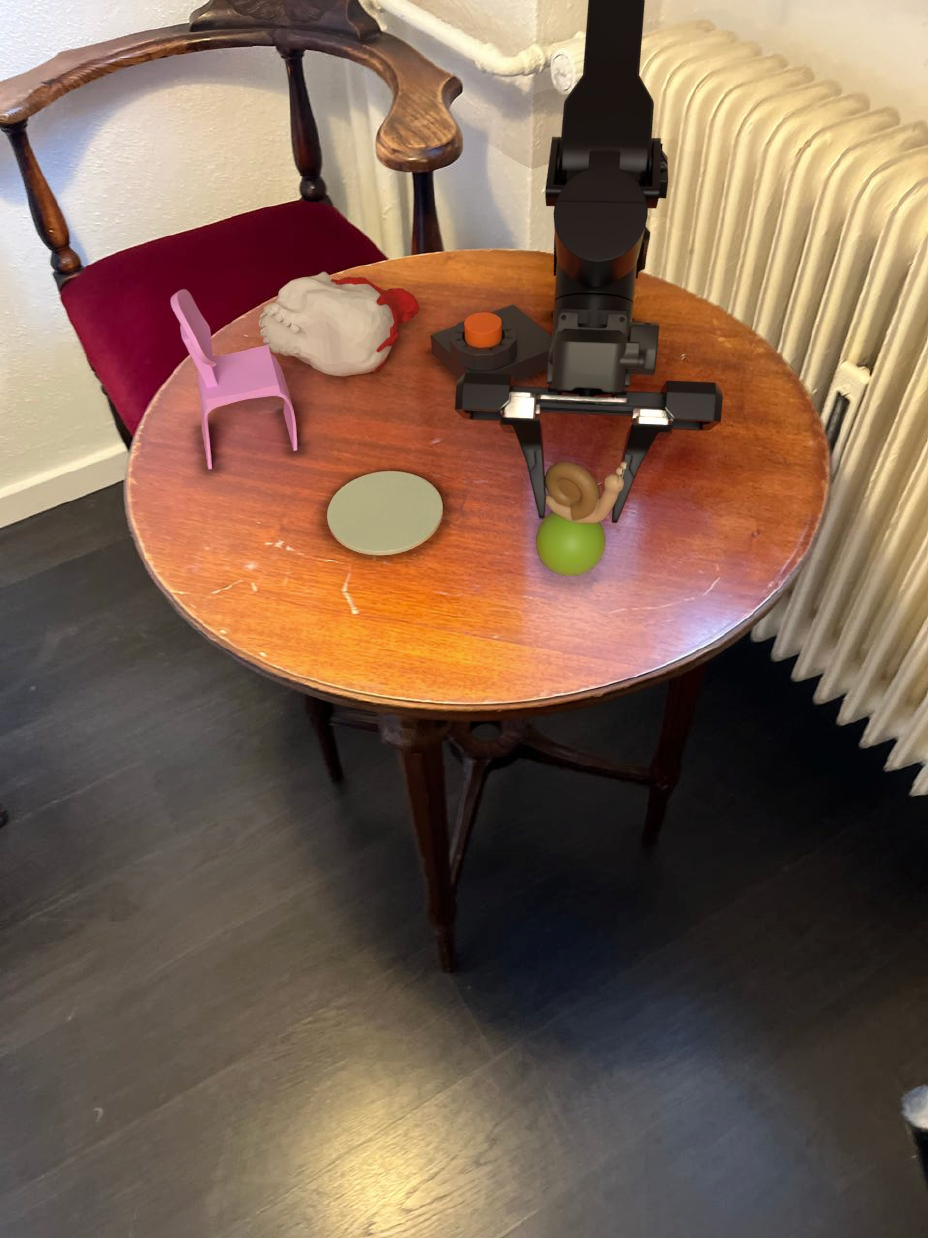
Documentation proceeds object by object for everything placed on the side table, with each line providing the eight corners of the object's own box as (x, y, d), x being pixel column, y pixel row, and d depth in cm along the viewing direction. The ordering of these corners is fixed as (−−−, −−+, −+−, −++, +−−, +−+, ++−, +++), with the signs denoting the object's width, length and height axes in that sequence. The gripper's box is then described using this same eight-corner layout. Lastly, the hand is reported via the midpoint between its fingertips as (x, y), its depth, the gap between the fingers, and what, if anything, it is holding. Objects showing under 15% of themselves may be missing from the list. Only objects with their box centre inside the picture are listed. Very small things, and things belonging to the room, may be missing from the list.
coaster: (408, 460, 81) (408, 456, 81) (464, 525, 76) (464, 521, 75) (309, 502, 78) (308, 497, 78) (359, 572, 73) (358, 568, 72)
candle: (260, 366, 91) (373, 321, 98) (330, 412, 85) (443, 361, 93) (249, 280, 84) (370, 239, 92) (323, 324, 79) (445, 276, 87)
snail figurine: (594, 604, 70) (608, 489, 60) (523, 573, 72) (525, 459, 63) (625, 560, 72) (642, 444, 63) (555, 532, 75) (562, 416, 65)
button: (489, 323, 88) (489, 307, 87) (508, 341, 86) (508, 324, 85) (458, 335, 87) (457, 319, 86) (477, 353, 85) (476, 337, 84)
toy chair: (304, 456, 82) (270, 309, 71) (209, 477, 81) (158, 331, 69) (290, 403, 87) (256, 259, 76) (200, 422, 86) (152, 278, 75)
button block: (513, 322, 95) (513, 287, 92) (561, 363, 90) (563, 328, 87) (429, 354, 92) (426, 319, 89) (474, 398, 87) (473, 363, 84)
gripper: (451, 268, 58) (437, 510, 59) (747, 276, 55) (724, 527, 57) (470, 310, 69) (458, 514, 70) (718, 318, 67) (699, 528, 68)
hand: (577, 520), depth 66 cm, fingers closed on snail figurine, 5 cm apart
